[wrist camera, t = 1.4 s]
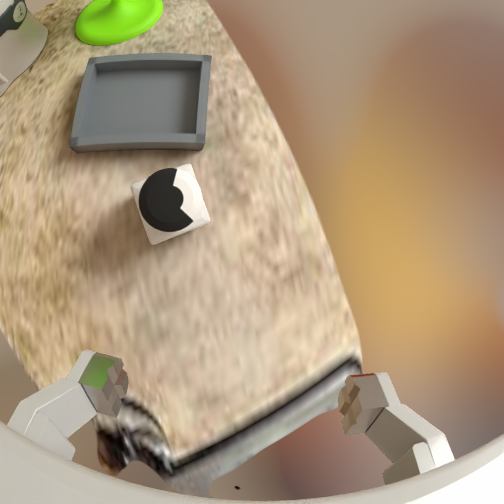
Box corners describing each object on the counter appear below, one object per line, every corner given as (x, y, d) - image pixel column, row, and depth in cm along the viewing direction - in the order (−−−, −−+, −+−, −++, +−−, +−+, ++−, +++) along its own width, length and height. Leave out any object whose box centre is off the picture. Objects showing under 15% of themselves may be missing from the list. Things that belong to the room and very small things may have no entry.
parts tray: (77, 153, 31) (69, 146, 27) (93, 69, 29) (89, 58, 26) (201, 150, 36) (205, 143, 32) (207, 67, 34) (211, 55, 31)
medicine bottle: (154, 242, 35) (147, 250, 24) (137, 192, 34) (122, 177, 22) (204, 223, 37) (219, 221, 25) (186, 173, 36) (194, 150, 24)
